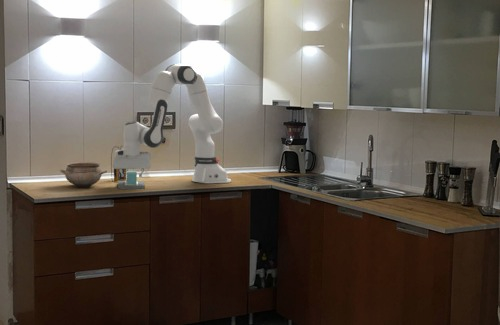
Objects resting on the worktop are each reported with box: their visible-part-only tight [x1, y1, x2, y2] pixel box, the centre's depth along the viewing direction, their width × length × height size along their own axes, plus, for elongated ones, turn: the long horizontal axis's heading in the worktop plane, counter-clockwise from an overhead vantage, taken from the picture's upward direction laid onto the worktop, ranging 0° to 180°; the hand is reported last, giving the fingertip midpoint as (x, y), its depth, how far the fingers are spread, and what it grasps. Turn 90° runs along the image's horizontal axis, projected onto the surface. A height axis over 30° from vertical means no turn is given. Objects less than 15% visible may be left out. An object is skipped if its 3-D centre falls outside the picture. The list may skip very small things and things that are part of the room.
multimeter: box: [110, 146, 129, 183], centre depth 384 cm, size 15×10×20 cm
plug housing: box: [126, 170, 138, 185], centre depth 368 cm, size 5×11×6 cm, turn 11°
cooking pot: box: [59, 161, 108, 189], centre depth 361 cm, size 25×19×12 cm
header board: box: [117, 180, 146, 190], centre depth 368 cm, size 14×18×6 cm
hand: (131, 176), depth 368 cm, fingers open, 8 cm apart
